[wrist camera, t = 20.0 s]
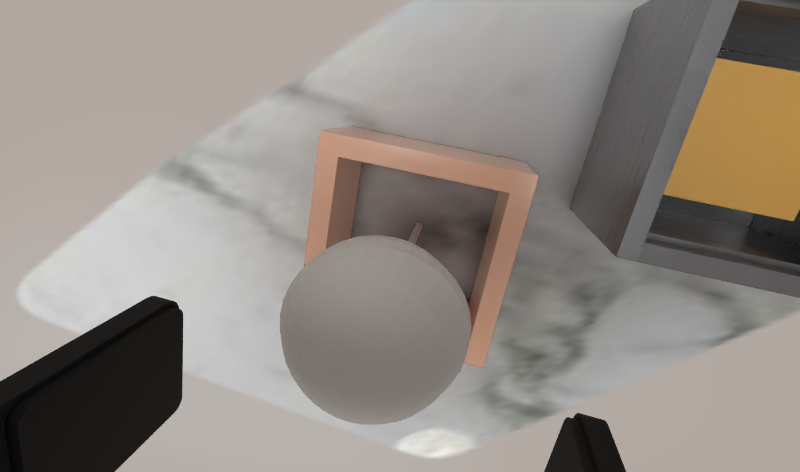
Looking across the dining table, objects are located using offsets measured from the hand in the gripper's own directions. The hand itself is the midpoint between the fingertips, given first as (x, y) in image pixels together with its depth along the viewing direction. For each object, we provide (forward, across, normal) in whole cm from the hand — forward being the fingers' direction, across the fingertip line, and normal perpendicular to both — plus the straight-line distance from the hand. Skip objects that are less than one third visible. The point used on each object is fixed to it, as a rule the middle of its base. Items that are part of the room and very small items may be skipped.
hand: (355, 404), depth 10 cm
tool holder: (+16, +1, 0) cm, 16 cm away
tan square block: (+16, -12, -8) cm, 21 cm away
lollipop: (+16, +1, 0) cm, 16 cm away
